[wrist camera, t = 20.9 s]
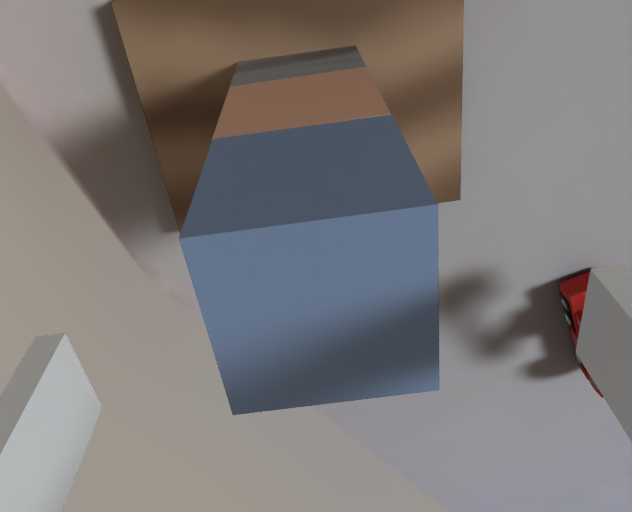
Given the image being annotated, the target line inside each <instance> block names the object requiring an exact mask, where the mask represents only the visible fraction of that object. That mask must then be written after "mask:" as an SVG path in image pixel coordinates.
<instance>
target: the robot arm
mask: <svg viewBox="0 0 632 512" xmlns="http://www.w3.org/2000/svg"><path fill="white" fill-rule="evenodd" d="M576 354H577V355H578V357H579V359H580V360H581V362H582V363H583V365H584V367H585V368H586V370H587V371H588V373H589V375H590V376H591V378H592V379H593V381H594V383H595V384H596V386H597V387H598V389H599V390H600V392H601V394H602V395H603V397H604V398H605V400H606V402H607V403H608V405H609V406H610V408H611V410H612V411H613V413H614V414H615V416H616V418H617V419H618V421H619V422H620V424H621V425H622V427H623V429H624V430H625V432H626V433H627V435H628V437H629V438H630V440H631V441H632V275H631V274H630V273H629V272H628V271H627V269H626V268H625V267H624V266H623V265H619V266H611V267H603V268H594V269H591V270H590V275H589V281H588V286H587V292H586V297H585V303H584V308H583V314H582V319H581V325H580V330H579V336H578V341H577V347H576ZM101 408H102V406H101V404H100V402H99V400H98V398H97V396H96V394H95V392H94V390H93V388H92V386H91V384H90V382H89V380H88V378H87V376H86V374H85V372H84V370H83V368H82V366H81V364H80V362H79V360H78V358H77V356H76V354H75V352H74V351H73V348H72V347H71V345H70V342H69V340H68V338H67V336H66V334H65V333H61V334H53V335H46V336H37V337H35V338H34V340H33V342H32V343H31V345H30V347H29V348H28V350H27V352H26V353H25V355H24V357H23V358H22V360H21V362H20V364H19V365H18V367H17V369H16V370H15V372H14V374H13V375H12V377H11V379H10V380H9V382H8V384H7V385H6V387H5V389H4V390H3V392H2V394H1V395H0V512H62V511H63V508H64V506H65V503H66V501H67V498H68V495H69V493H70V490H71V487H72V485H73V482H74V480H75V477H76V474H77V471H78V469H79V466H80V463H81V461H82V458H83V456H84V453H85V451H86V448H87V445H88V443H89V439H90V437H91V435H92V432H93V430H94V427H95V424H96V422H97V419H98V416H99V414H100V411H101Z"/></svg>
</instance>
